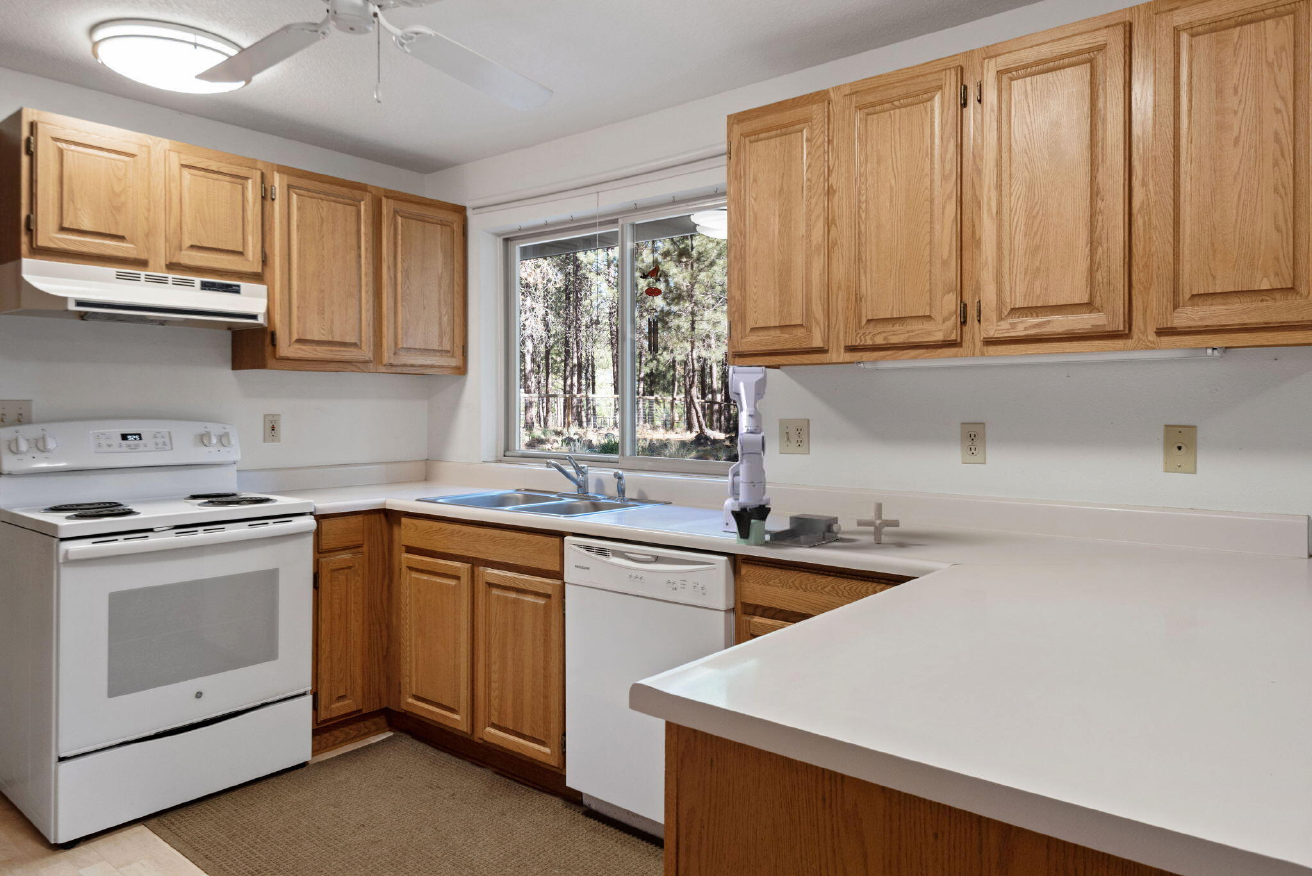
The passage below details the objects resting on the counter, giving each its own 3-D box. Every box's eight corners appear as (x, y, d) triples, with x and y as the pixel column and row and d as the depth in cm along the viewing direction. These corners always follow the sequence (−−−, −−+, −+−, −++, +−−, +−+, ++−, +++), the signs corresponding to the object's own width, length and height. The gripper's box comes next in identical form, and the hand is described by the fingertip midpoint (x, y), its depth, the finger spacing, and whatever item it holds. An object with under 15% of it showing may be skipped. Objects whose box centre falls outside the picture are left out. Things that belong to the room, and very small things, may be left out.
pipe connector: (894, 540, 208) (895, 500, 208) (902, 547, 198) (903, 505, 198) (854, 539, 209) (854, 500, 209) (859, 546, 199) (860, 504, 199)
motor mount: (764, 542, 204) (764, 520, 204) (800, 533, 218) (800, 513, 218) (811, 548, 196) (811, 525, 196) (845, 539, 210) (846, 517, 210)
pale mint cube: (736, 543, 203) (736, 521, 203) (747, 541, 207) (747, 519, 206) (754, 545, 200) (754, 523, 199) (764, 543, 203) (765, 521, 203)
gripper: (749, 485, 194) (748, 542, 195) (780, 481, 206) (780, 535, 206) (724, 483, 199) (723, 539, 199) (756, 479, 210) (756, 532, 211)
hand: (750, 537), depth 203 cm, fingers open, 5 cm apart
